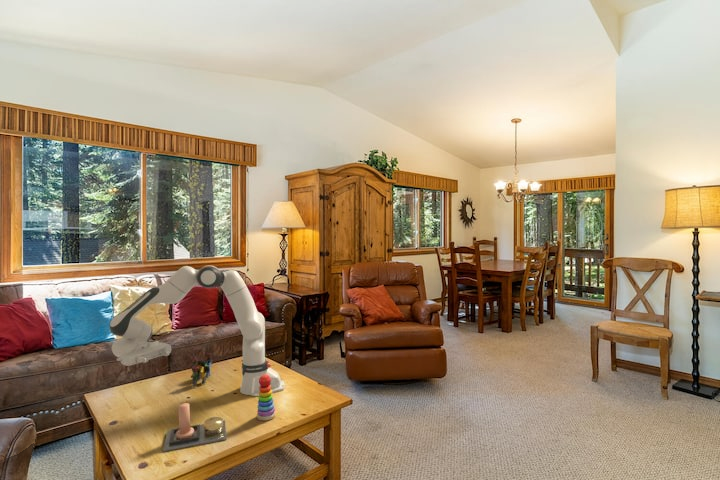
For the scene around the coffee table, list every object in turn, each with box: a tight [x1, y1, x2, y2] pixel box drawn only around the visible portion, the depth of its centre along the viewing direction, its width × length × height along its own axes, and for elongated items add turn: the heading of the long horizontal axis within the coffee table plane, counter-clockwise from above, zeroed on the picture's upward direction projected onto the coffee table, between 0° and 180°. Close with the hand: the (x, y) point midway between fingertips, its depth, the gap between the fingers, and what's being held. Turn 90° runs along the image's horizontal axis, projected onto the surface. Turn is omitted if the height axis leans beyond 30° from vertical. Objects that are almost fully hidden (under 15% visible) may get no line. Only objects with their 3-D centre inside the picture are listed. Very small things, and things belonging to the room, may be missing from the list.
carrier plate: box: [162, 416, 227, 452], centre depth 154 cm, size 22×14×5 cm, turn 111°
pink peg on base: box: [176, 402, 194, 440], centre depth 152 cm, size 6×6×12 cm
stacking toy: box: [256, 375, 276, 421], centre depth 169 cm, size 8×8×19 cm
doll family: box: [190, 352, 213, 389], centre depth 210 cm, size 23×9×13 cm, turn 14°
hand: (157, 356), depth 165 cm, fingers open, 8 cm apart
